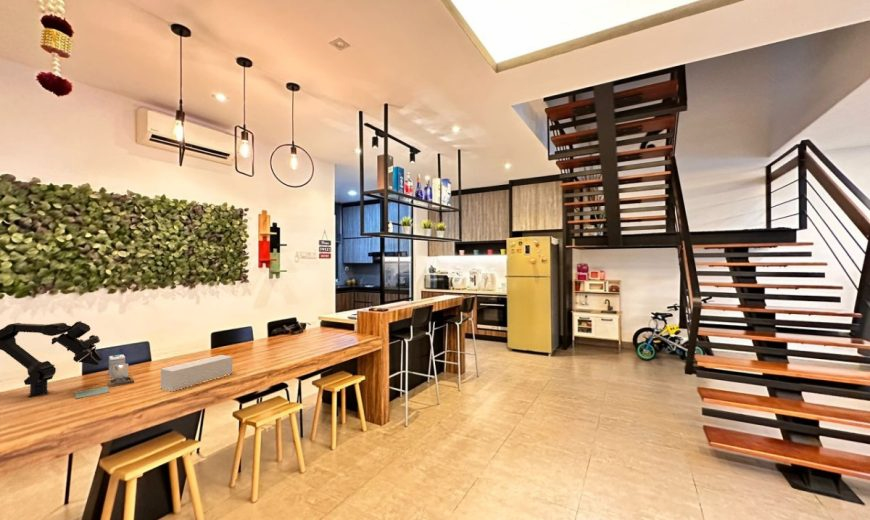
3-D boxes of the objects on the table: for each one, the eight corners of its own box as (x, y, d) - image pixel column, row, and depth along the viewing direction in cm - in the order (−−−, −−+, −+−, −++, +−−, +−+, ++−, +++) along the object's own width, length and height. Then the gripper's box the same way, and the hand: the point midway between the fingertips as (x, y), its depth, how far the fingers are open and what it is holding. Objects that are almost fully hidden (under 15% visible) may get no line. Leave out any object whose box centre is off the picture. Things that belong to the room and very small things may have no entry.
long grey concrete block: (221, 372, 210) (221, 354, 210) (232, 374, 205) (232, 356, 205) (160, 389, 181) (160, 368, 181) (171, 392, 176) (172, 371, 176)
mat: (74, 393, 175) (75, 392, 175) (107, 386, 184) (107, 386, 184) (75, 399, 167) (75, 398, 167) (109, 392, 175) (109, 391, 175)
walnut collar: (107, 383, 189) (107, 380, 189) (131, 378, 197) (131, 376, 197) (109, 387, 183) (109, 384, 183) (133, 382, 190) (134, 380, 190)
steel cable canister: (112, 383, 190) (113, 365, 190) (127, 380, 194) (127, 362, 194) (113, 385, 185) (114, 367, 186) (128, 383, 190) (129, 364, 190)
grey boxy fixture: (108, 374, 206) (108, 356, 206) (123, 371, 211) (123, 354, 211) (109, 378, 199) (110, 359, 199) (125, 375, 204) (125, 357, 204)
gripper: (84, 334, 173) (112, 354, 179) (91, 328, 188) (117, 346, 194) (60, 351, 168) (90, 371, 174) (69, 344, 183) (96, 362, 189)
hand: (99, 362), depth 183 cm, fingers open, 9 cm apart
